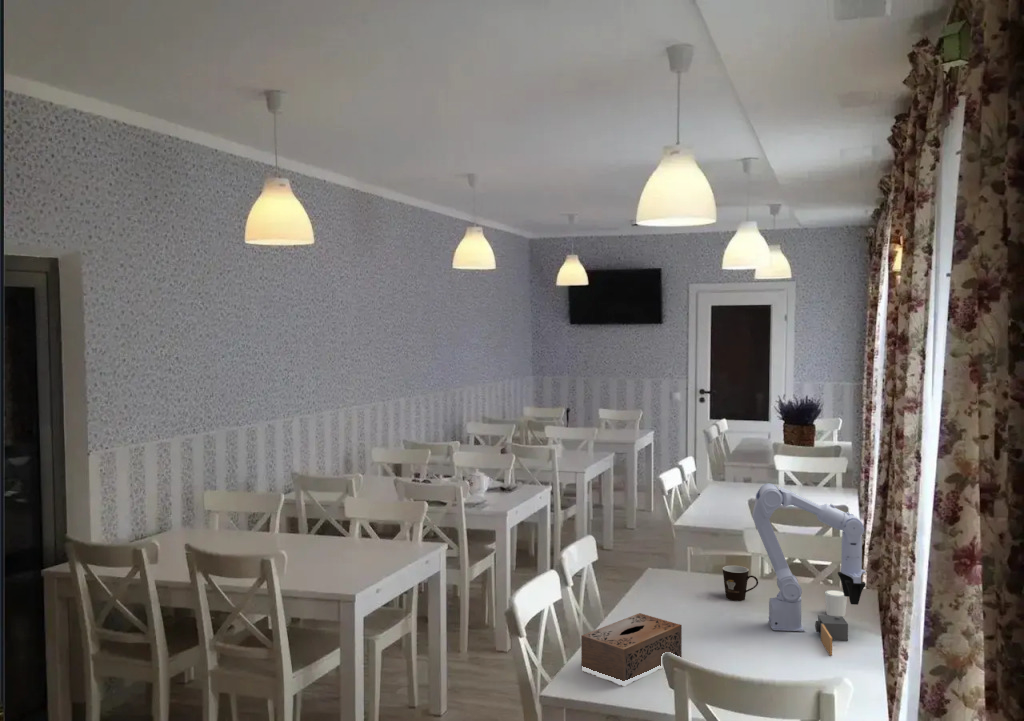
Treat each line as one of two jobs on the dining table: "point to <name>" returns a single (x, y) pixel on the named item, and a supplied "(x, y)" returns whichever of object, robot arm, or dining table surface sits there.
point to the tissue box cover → (630, 646)
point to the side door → (826, 639)
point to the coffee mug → (736, 582)
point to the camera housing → (833, 627)
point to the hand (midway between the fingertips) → (851, 600)
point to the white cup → (835, 603)
